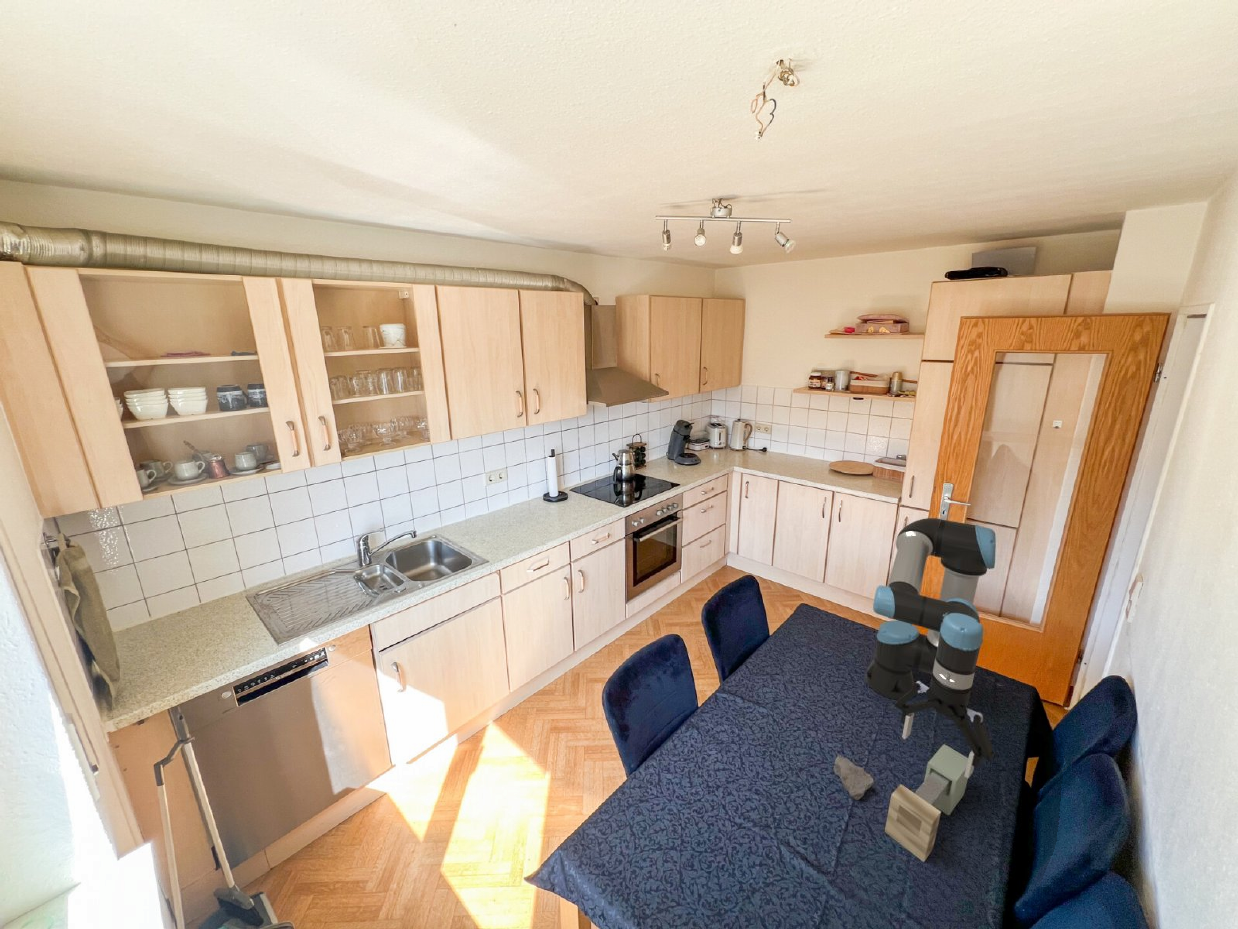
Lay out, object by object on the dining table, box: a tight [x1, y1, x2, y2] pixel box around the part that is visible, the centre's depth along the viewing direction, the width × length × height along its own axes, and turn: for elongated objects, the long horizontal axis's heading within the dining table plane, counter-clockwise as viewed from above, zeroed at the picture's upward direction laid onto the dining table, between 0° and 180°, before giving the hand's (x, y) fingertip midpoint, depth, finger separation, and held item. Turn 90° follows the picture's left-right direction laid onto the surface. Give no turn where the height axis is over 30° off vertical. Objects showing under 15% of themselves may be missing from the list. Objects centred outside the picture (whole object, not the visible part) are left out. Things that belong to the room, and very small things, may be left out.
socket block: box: [884, 783, 942, 863], centre depth 117 cm, size 5×9×12 cm, turn 37°
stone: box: [833, 755, 875, 801], centre depth 133 cm, size 8×10×6 cm
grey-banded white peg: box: [914, 770, 952, 809], centre depth 121 cm, size 18×4×4 cm, turn 127°
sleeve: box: [923, 744, 969, 816], centre depth 129 cm, size 10×7×11 cm, turn 127°
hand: (935, 754), depth 117 cm, fingers open, 13 cm apart
